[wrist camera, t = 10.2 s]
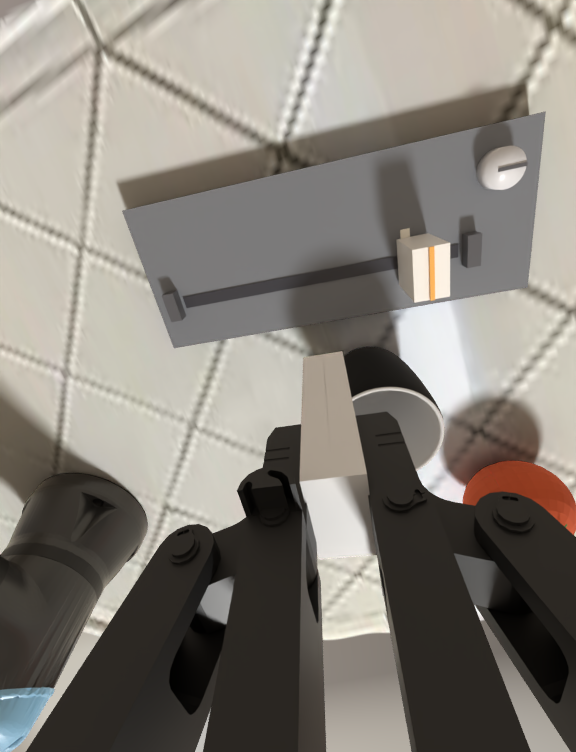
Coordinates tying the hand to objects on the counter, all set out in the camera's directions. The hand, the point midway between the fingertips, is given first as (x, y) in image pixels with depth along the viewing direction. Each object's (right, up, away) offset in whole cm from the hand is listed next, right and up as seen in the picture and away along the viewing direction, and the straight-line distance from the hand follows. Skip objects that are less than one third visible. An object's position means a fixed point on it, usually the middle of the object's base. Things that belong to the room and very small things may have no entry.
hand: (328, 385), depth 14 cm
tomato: (+22, -11, +28) cm, 37 cm away
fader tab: (+8, +10, +15) cm, 19 cm away
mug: (+7, -1, +23) cm, 24 cm away
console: (+2, +11, +17) cm, 20 cm away
